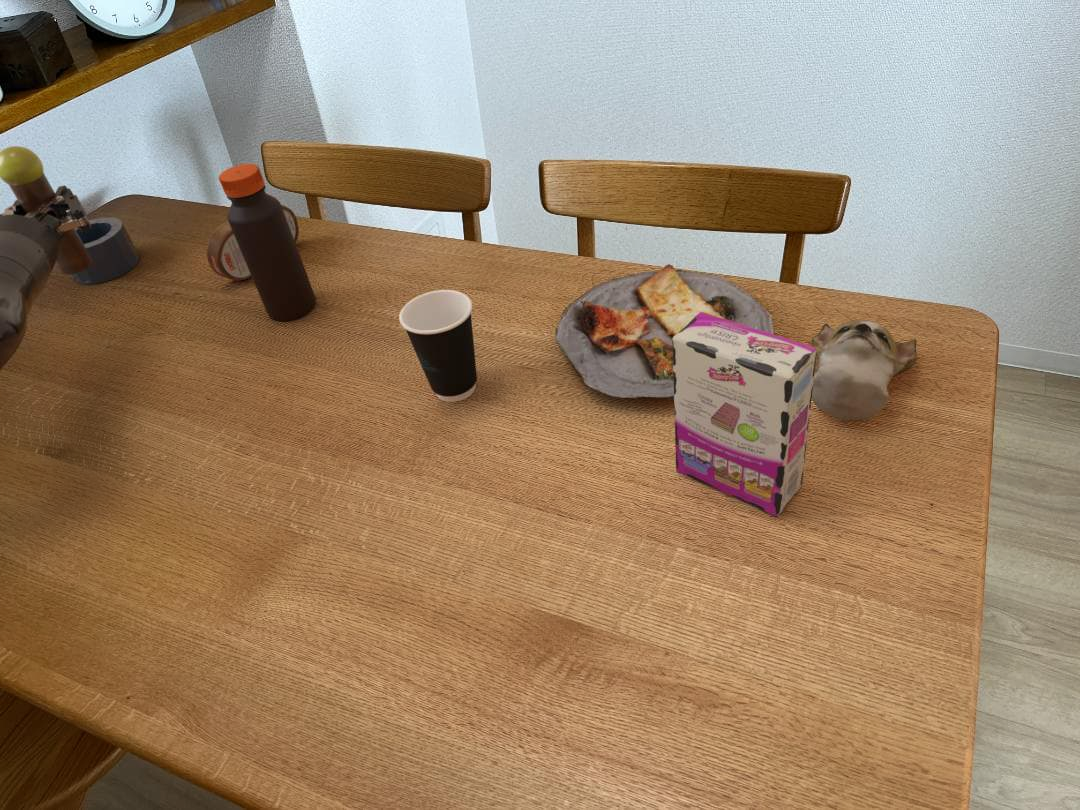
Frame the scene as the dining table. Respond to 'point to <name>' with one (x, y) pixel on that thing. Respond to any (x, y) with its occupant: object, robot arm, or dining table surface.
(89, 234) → the tube
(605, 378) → the food plate
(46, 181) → the ball peg
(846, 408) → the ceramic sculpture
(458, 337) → the dixie cup
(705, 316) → the candy bar box
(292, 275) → the bottle
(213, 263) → the tin
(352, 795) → the dining table surface
